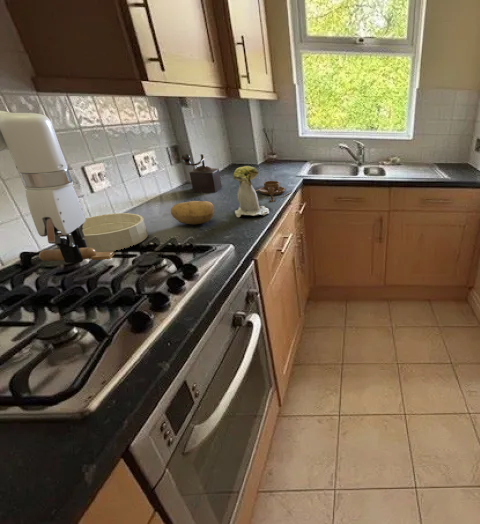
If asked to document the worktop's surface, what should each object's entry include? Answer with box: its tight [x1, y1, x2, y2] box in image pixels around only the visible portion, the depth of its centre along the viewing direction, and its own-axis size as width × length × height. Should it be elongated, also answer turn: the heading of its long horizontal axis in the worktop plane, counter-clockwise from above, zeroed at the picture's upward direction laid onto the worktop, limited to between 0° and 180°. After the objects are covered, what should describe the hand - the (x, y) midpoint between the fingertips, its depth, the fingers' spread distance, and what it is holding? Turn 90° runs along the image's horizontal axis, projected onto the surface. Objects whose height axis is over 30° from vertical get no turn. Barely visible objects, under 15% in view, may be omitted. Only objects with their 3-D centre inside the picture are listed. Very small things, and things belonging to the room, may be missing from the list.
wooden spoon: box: [38, 247, 116, 262], centre depth 76 cm, size 14×3×3 cm, turn 106°
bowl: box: [82, 212, 149, 252], centre depth 102 cm, size 19×19×6 cm
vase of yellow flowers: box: [232, 165, 270, 218], centre depth 126 cm, size 12×13×18 cm
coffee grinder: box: [180, 153, 223, 194], centre depth 153 cm, size 16×11×18 cm
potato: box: [170, 200, 215, 226], centre depth 117 cm, size 10×14×8 cm
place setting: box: [255, 180, 293, 203], centre depth 154 cm, size 18×20×6 cm
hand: (77, 258), depth 76 cm, fingers closed on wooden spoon, 2 cm apart
